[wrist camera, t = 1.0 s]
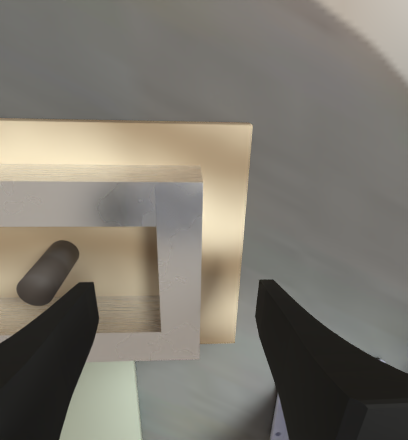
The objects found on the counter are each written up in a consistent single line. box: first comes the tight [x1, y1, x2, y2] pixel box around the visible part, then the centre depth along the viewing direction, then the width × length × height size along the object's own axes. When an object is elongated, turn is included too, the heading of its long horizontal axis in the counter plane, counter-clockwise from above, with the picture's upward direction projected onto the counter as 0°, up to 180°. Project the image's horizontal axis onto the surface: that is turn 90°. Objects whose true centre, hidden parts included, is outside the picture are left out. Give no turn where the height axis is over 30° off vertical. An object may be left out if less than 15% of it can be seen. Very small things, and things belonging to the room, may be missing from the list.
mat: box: [59, 361, 142, 440], centre depth 23 cm, size 14×14×1 cm
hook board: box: [0, 118, 253, 344], centre depth 16 cm, size 14×16×5 cm
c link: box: [0, 164, 203, 362], centre depth 15 cm, size 10×12×3 cm
